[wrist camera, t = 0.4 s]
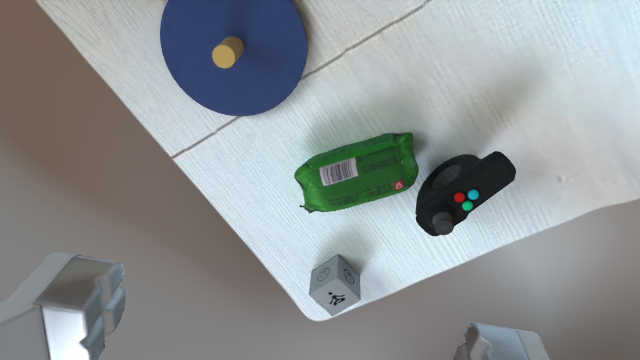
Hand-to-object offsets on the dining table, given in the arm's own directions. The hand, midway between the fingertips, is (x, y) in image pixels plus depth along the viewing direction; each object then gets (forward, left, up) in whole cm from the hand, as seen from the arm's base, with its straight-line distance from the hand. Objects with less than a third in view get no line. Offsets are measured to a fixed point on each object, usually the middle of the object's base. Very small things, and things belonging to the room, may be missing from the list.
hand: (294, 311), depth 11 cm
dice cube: (+36, +7, -45) cm, 58 cm away
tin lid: (+6, -11, -45) cm, 46 cm away
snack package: (+18, +6, -45) cm, 49 cm away
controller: (+16, +18, -45) cm, 51 cm away
